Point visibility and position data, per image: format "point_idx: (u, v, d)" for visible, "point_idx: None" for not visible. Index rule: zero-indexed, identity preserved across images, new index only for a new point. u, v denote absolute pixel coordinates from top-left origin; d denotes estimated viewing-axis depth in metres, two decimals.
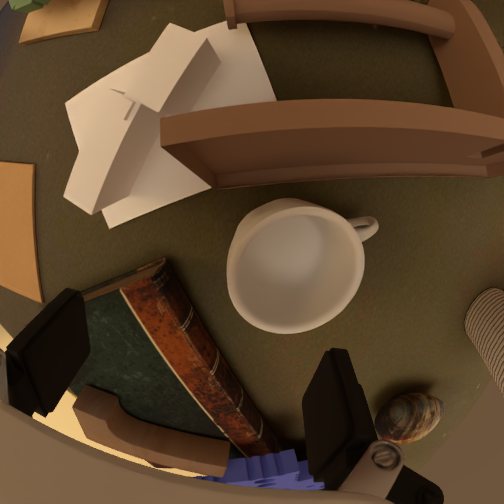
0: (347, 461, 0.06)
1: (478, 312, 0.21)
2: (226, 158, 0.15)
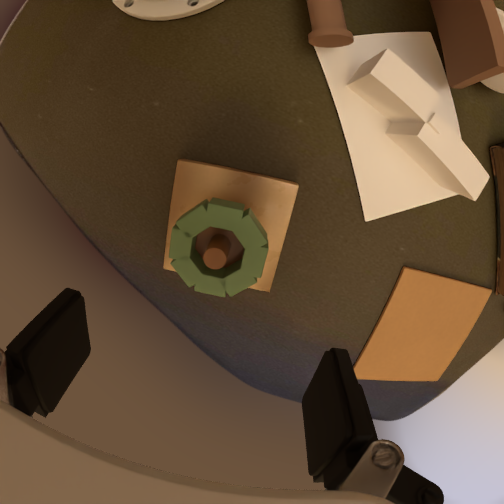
0: (347, 461, 0.06)
1: None
2: None
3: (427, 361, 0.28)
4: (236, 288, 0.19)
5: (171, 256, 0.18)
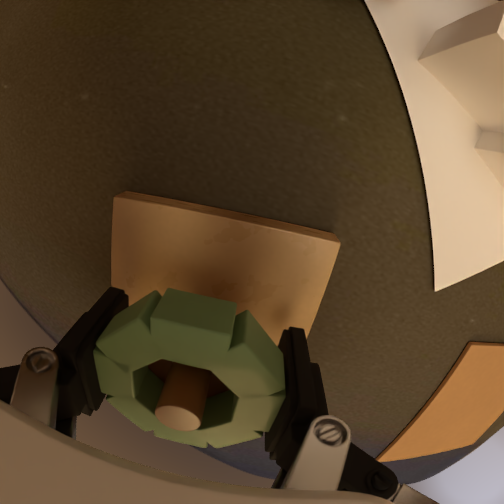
0: (292, 434, 0.07)
1: None
2: None
3: (468, 430, 0.18)
4: (226, 442, 0.09)
5: (104, 391, 0.08)
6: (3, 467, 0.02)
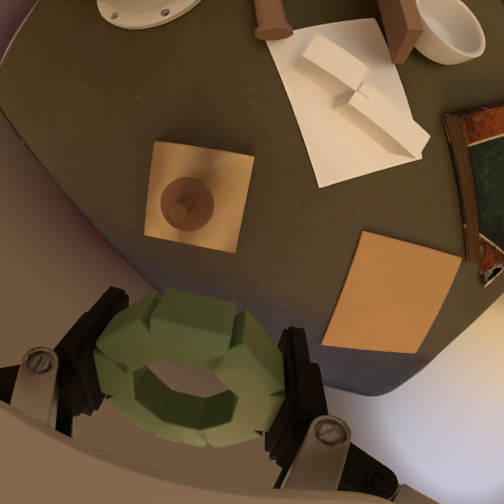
0: (292, 434, 0.07)
1: None
2: (393, 40, 0.16)
3: (401, 330, 0.31)
4: (226, 441, 0.09)
5: (104, 391, 0.08)
6: (3, 467, 0.02)
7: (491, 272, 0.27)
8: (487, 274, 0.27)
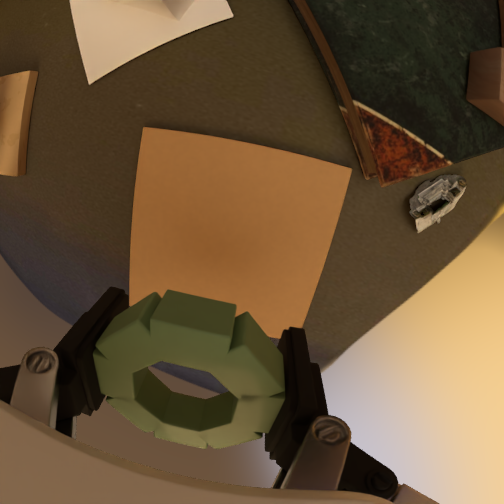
0: (292, 434, 0.07)
1: None
2: None
3: (252, 296, 0.22)
4: (226, 443, 0.09)
5: (104, 392, 0.08)
6: (3, 467, 0.02)
7: (426, 203, 0.18)
8: (416, 205, 0.18)
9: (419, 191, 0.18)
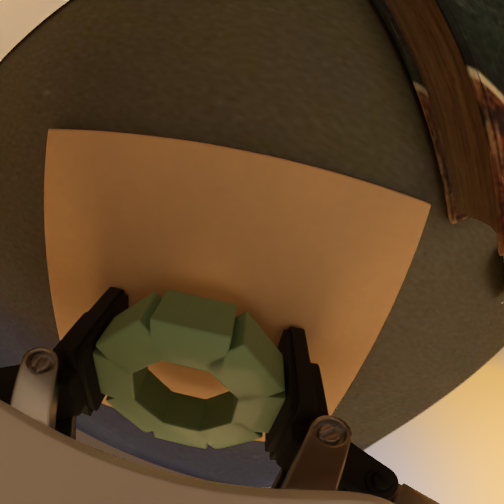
0: (292, 434, 0.07)
1: None
2: None
3: None
4: (226, 443, 0.09)
5: (104, 392, 0.08)
6: (3, 467, 0.02)
7: None
8: None
9: None
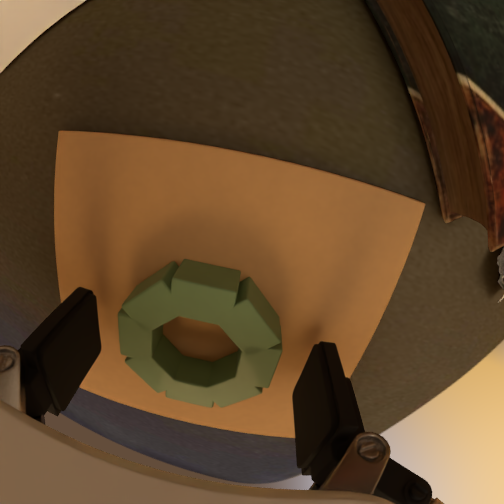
0: (333, 453, 0.06)
1: None
2: None
3: None
4: (230, 400, 0.11)
5: (124, 353, 0.10)
6: (3, 467, 0.02)
7: None
8: None
9: None
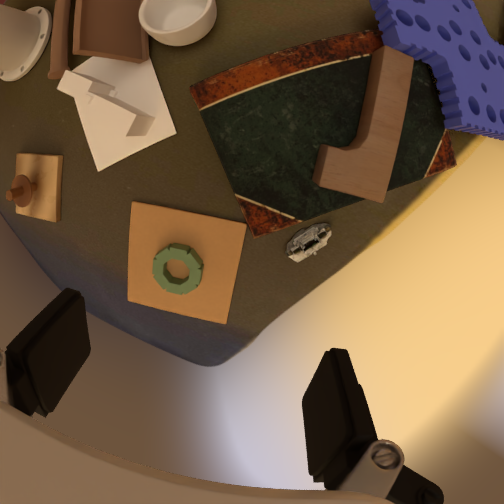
0: (347, 461, 0.06)
1: None
2: (119, 49, 0.22)
3: (196, 295, 0.37)
4: (187, 290, 0.35)
5: (153, 273, 0.34)
6: (3, 467, 0.02)
7: (298, 245, 0.33)
8: (290, 247, 0.33)
9: (295, 237, 0.33)
